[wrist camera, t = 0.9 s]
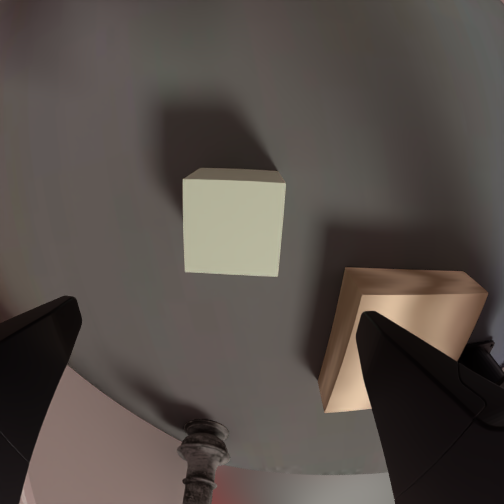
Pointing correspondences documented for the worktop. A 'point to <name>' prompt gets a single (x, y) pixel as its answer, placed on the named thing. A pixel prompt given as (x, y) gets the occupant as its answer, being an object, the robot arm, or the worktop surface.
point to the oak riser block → (400, 312)
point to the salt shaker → (202, 458)
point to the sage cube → (233, 221)
